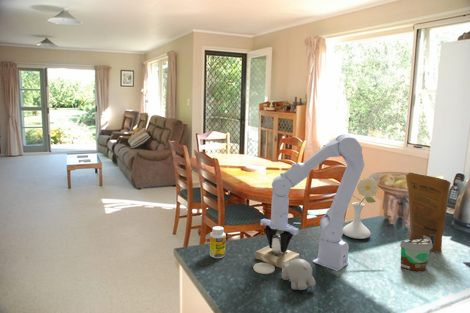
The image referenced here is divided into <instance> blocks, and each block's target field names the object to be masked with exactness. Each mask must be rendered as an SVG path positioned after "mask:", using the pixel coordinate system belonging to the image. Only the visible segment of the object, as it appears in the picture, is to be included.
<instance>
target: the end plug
mask: <svg viewBox="0 0 470 313" xmlns="http://www.w3.org/2000/svg"><path fill="white" fill-rule="evenodd" d="M271 254H272V255H275V256H277V257H281V256H283V255H284V253H283V252H281V237H280V234H276V235H273V236H272V252H271Z"/></svg>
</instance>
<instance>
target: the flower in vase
mask: <svg viewBox="0 0 470 313" xmlns="http://www.w3.org/2000/svg"><path fill="white" fill-rule="evenodd" d="M379 188H380V187H379V186H378V183H377V181H376V180H374V179H372V178H369V177H367V178H364V179H359V181H358V183H357V185H356V189H357V192H358V194H359V195H360V196H362V197H363V198H362V200H361V199H360V198H359V197H356V196H354V198H355V199H356V200H358V201H357V202H356V201H354V202H352V203H351V204H352V206H353V208H354V209H353V210H354V216H353V217H354V218H353V221H352V222H350V223H348V224H346V225H344V226H343V235H344V236H346V237H349V238H352V239H357V240H359V239H360V240H362V239H368V238H369V237H371V235H372V234H371V231H370V229H369V228H367V226H366V225H364V224H363V223H362V221H361V214H362V210H363V207H365V205H366V204H365V203H364V202H363V201H364V200H365V201H366V202H367V203H368V204H372V203H373V204H374V203H376V202H377V201H376V199H375V198H374V196H377V193H378V191H379ZM359 201H360V202H359Z"/></svg>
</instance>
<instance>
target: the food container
mask: <svg viewBox="0 0 470 313" xmlns="http://www.w3.org/2000/svg"><path fill="white" fill-rule="evenodd" d="M399 247H400V269H402V270H405V271H407V272H413V273H422V272H425V271H426V269H427V266H428V260H429V255H430V250H431V249H432V248H433V246H432V242H431V239H430V238H428V237H427V236H424V235H423V238H421V239H412V240H408V241H405V240H401V241H400V243H399Z"/></svg>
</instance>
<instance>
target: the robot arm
mask: <svg viewBox="0 0 470 313" xmlns="http://www.w3.org/2000/svg"><path fill="white" fill-rule="evenodd" d="M340 155H341V156H342V159H343V160H344V162H345V164H346V167H345V170H344V171H343V175H342V177H341V180H340V182H339V186H338V187H337V190H336V193H335V195H334V197H333V201H332V203H331V205H330V207H329V209H328V210H327V211H326V212H325V214H324V215H323V216H322V217H321V218H320V221H319V227H320V229H321V233H319V237H318V239H319V240H318V256H317V258H315V259H313V260H312V262H313V263H314V264H317V265H320V266H322V267H325V268H328V269H330V270H331V269H332V270H334V271H336V272H339V271H340V270H341V269H343V268H345V267H346V266H347V265H348V264H349V261H348V260H349V248H350V247H349V243H348V242H346V241H344V240H343V239H342V237H343V235H344V234H343V227H344V226H345V225H344V224H345V215H346V213H347V210H348V207H349V204H350V202H351V200H352V198H353V196H354V195H353V194H354V192H355V190H356V189H357V186H358V184H359V181H360V177H361V175H362V173H363V171H364V168H365V160H364V156H363V147H362V146H361V144H360V142H359V141H358V139H356V138H354V137H351V136H350V135H348V134H344V133H343V134H340V135H338V136H336V138H334V139H331V140H330V141H329V142H328V143H326V144H325V145H324V146H322V147H321V148H320V149H319V150H317V151H316V152H315V153H314V154H312V155H311V156H310V157H308V159H307V160H305V161H304V162H296V163H292V164H291V165H290V166H291V167H290V168H288V169H287V170H286V171H285V172H281V173H280V174H279V176H275V178H274V179H273V180H272V183H271V187H272V188H271V189H272V194H271V197H272V198H271V208H270V209H271V210H270V211H271V212H270V213H271V214H270V219H268V218H263V219H260V226H265V228H263V232H264V234H265V235H266V238H267V241H268V246H270V248H272V236H273V235H277V232H278V230H279V231H282V232H280V234H279V235H280V237H281V252H283V253H284V252H286V251H287V250H288V246H289V244H290V241H291V240H292V239H293V236H297V235H299V233H300V231H299V229H300V228H298V227H295V226H294V225H291V224H289V223H288V222H289V221H288V220H289V219H288V218H289V204H290V203H289V201H290V199H289V193H290V192H291V189H292V188H294V187H295V186H297V185H298V184H300V183H301V182H302V181H305V179H306V178H308V177H309V176H310V171H311V170H312V169H314V168H315V167H317V166H318V165H320V164H322V163H323V162H324V161H326V160H327V159H329V158H339V157H341V156H340Z"/></svg>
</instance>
